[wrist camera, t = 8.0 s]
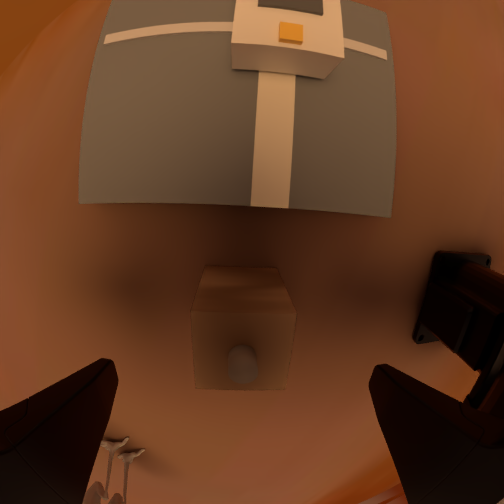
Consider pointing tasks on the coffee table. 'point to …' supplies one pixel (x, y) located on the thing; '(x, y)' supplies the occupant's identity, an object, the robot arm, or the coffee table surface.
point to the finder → (288, 36)
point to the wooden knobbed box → (242, 329)
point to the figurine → (97, 490)
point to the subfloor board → (235, 116)
